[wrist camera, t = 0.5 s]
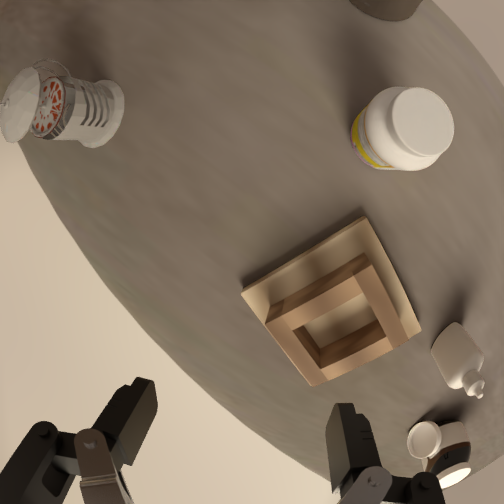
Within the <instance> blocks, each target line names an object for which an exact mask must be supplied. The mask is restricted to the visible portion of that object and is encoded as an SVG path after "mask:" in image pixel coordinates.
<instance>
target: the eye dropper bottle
mask: <svg viewBox="0 0 504 504" xmlns="http://www.w3.org/2000/svg"><path fill="white" fill-rule="evenodd" d="M431 354H432V356H433V358H434V360H435V362H436V364H437V366H438V368H439V370H440V371H441V373H442V375H443V377H444V379H445V381H446V383H447V385H448V386H449V387H451V388H453V389H458V388H461V387H464V389H465V391H466V393H467V395H469V396H473V395H476V397H477V398H478V399H479V398H481V397H482V396H483V392H482V388H483V387H484V384H485V381H484V380H483V378H482V376H481V375H480V373H479V370H480V368H481V366H482V363H483V360H484V355H483V353H482V351H481V350H480V349H479V347H478V346H477V344H476V343H475V342H474V340H473V339H472V338H471V336H470V335H469V334H468V332H467V331H466V330H465V329H464V327H463V326H462V325H460V324H459V323H457V322H453V323H451V324H450V325H449V326H448V327H446V328H445V329H444V330H443V331H442V332H441V333H440V335H439V336H438V337H437V339H436V340H435V342H434V344H433V346H432V348H431Z"/></svg>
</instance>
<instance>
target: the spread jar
mask: <svg viewBox="0 0 504 504" xmlns="http://www.w3.org/2000/svg"><path fill="white" fill-rule="evenodd" d="M407 446H408V450H409V452H410V454H411V455H412V456H413V457H415V458H418V459H421V460H422V464H423V469H424V472H430V473H433V474H434V475H436V477H437V478H438V480H439V482H440V486H441V489H442V488H446V487H448V486H451V485H453V484H455V483H457V482H459V481H460V480H462V479H463V478H464V477H466V476H467V475H468V474H469V472H470V471H471V468H470V465H469V463H468V461H469V458H470V453H471V445H470V440H469V437H468V435H467V432H466V430H465V427H464V425H463V424H462V423H461V422H460V421H456V420H450V421H444V422H441V423H438V424H436V423H434V422H432V421H425V422H420V423H418V424H416V425H415V426H414V427H413V428H412V429H411V431H410V433H409V435H408V439H407Z"/></svg>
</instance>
